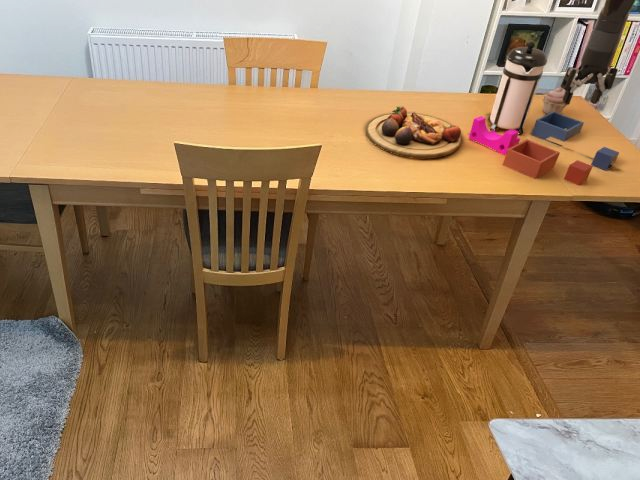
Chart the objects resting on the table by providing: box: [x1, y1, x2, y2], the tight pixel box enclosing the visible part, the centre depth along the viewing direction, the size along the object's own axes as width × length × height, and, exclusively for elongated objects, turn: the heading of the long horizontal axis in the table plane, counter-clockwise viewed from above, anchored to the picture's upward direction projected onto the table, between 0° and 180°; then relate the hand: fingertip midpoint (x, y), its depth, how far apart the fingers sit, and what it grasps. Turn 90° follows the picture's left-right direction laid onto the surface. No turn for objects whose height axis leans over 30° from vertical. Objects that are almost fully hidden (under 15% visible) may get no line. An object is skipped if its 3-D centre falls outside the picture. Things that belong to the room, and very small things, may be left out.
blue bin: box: [530, 112, 585, 147], centre depth 206 cm, size 12×12×6 cm
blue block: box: [590, 146, 620, 171], centre depth 190 cm, size 5×5×5 cm
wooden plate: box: [366, 106, 462, 159], centre depth 201 cm, size 32×32×8 cm
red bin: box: [502, 138, 561, 180], centre depth 188 cm, size 12×12×6 cm
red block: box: [563, 159, 594, 186], centre depth 183 cm, size 5×5×5 cm
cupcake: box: [542, 86, 568, 115], centre depth 220 cm, size 9×9×10 cm
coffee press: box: [488, 41, 548, 136], centre depth 204 cm, size 17×16×30 cm
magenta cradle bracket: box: [468, 115, 521, 156], centre depth 199 cm, size 15×6×8 cm, turn 37°
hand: (579, 103), depth 171 cm, fingers open, 8 cm apart
